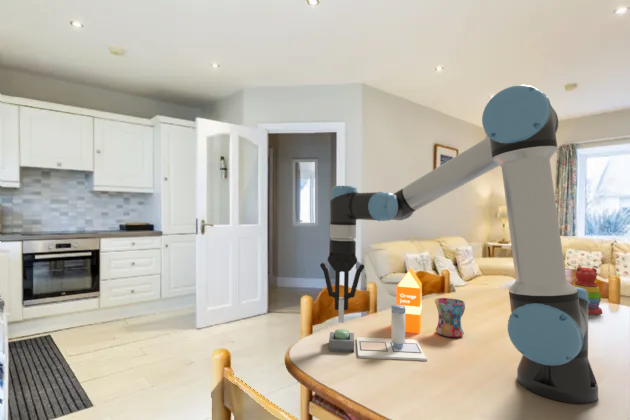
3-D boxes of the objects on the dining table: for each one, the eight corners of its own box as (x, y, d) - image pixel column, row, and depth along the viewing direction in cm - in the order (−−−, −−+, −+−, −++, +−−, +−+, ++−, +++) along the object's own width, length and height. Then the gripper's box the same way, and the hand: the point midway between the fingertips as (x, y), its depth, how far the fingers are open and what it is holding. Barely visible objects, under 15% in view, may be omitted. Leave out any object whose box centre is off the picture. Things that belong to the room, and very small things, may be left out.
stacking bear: (601, 310, 146) (601, 267, 146) (604, 316, 137) (605, 270, 137) (568, 306, 151) (568, 264, 152) (570, 312, 143) (570, 267, 143)
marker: (406, 349, 100) (406, 308, 100) (392, 349, 100) (392, 308, 100) (403, 344, 104) (403, 304, 104) (390, 344, 104) (390, 304, 104)
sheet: (426, 360, 94) (426, 358, 94) (358, 357, 96) (358, 354, 96) (416, 341, 108) (416, 339, 108) (356, 339, 110) (356, 336, 110)
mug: (452, 341, 109) (452, 306, 109) (428, 332, 117) (428, 299, 117) (476, 334, 115) (476, 301, 115) (452, 326, 123) (452, 295, 123)
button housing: (354, 352, 99) (354, 341, 99) (328, 351, 100) (329, 340, 100) (353, 343, 106) (353, 333, 106) (330, 342, 107) (330, 332, 107)
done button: (348, 341, 101) (348, 334, 101) (334, 340, 101) (334, 333, 101) (348, 336, 105) (348, 329, 105) (335, 335, 105) (335, 328, 105)
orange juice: (395, 330, 118) (396, 270, 118) (398, 322, 126) (399, 266, 127) (420, 333, 116) (420, 271, 116) (422, 325, 124) (422, 267, 124)
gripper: (364, 239, 106) (363, 318, 107) (321, 237, 108) (319, 316, 108) (366, 241, 99) (364, 326, 99) (319, 239, 100) (317, 324, 100)
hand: (341, 320), depth 103 cm, fingers closed
